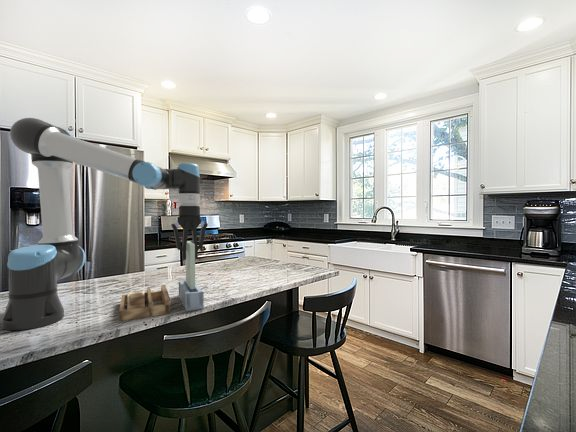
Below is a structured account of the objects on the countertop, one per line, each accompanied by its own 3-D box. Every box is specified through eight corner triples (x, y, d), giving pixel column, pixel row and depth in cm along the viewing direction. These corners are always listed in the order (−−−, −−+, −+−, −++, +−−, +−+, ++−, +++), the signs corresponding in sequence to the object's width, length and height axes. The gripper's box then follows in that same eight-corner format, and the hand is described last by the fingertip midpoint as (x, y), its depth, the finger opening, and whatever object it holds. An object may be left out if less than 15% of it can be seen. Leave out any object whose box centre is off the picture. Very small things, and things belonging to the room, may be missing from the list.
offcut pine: (127, 309, 108) (127, 296, 108) (130, 304, 113) (130, 292, 113) (143, 307, 109) (142, 295, 109) (145, 302, 115) (144, 290, 115)
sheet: (190, 289, 109) (190, 244, 109) (185, 282, 120) (185, 241, 120) (195, 288, 110) (194, 244, 110) (190, 281, 121) (189, 241, 120)
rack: (119, 320, 96) (119, 304, 96) (122, 303, 114) (122, 289, 114) (170, 313, 103) (170, 298, 103) (165, 297, 121) (165, 285, 121)
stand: (185, 311, 105) (185, 293, 105) (178, 296, 123) (178, 281, 123) (203, 308, 108) (203, 291, 108) (194, 294, 126) (194, 279, 125)
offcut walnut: (131, 305, 99) (130, 298, 99) (129, 301, 103) (129, 294, 103) (144, 303, 101) (144, 296, 101) (142, 299, 105) (142, 292, 105)
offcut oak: (127, 318, 99) (127, 306, 98) (128, 312, 104) (128, 301, 104) (144, 316, 101) (144, 304, 101) (144, 310, 106) (144, 299, 106)
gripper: (169, 205, 108) (170, 271, 108) (211, 205, 114) (212, 268, 115) (167, 205, 115) (168, 268, 115) (207, 205, 121) (207, 264, 122)
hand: (190, 268), depth 115 cm, fingers closed on sheet, 2 cm apart
